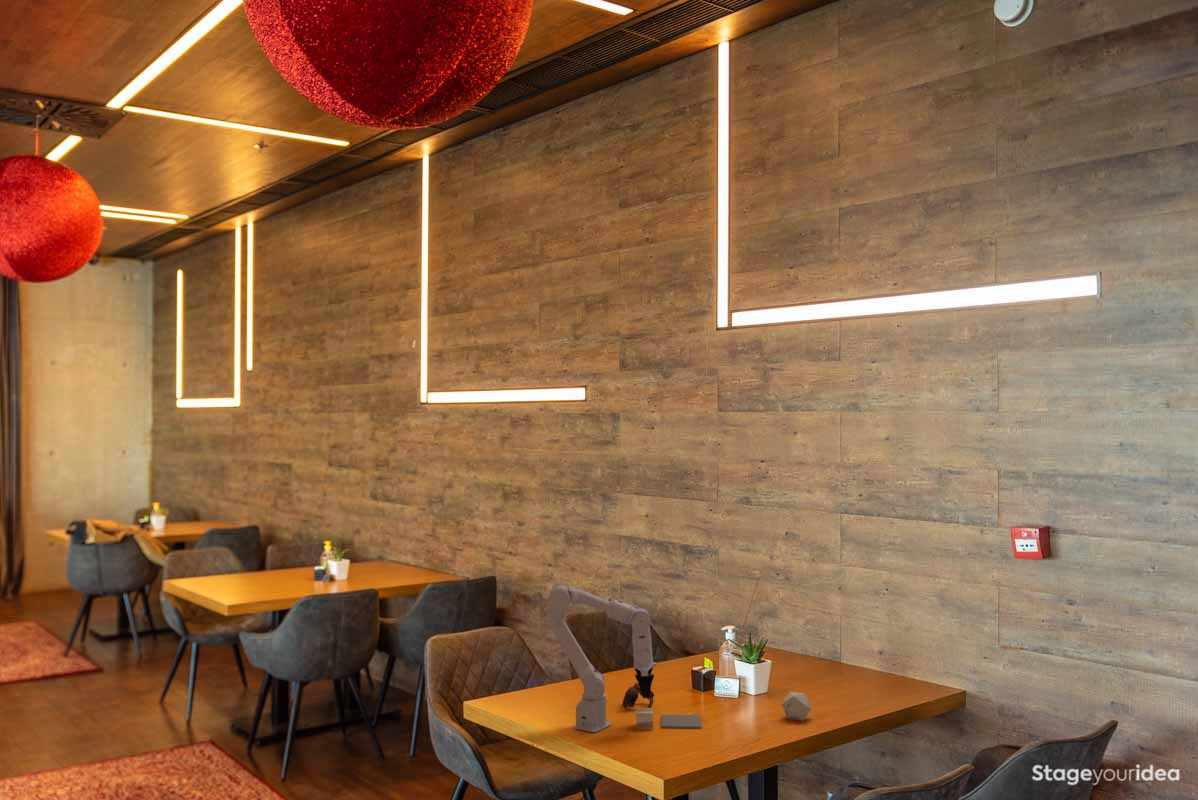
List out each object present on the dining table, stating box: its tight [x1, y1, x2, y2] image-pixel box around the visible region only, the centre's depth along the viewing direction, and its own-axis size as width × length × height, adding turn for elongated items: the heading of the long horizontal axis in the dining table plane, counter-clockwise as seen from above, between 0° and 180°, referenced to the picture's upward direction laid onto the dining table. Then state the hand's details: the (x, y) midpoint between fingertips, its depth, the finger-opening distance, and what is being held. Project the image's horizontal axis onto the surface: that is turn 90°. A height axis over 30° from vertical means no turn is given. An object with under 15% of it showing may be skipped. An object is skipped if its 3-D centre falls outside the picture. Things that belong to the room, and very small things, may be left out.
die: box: [781, 691, 813, 722], centre depth 307 cm, size 8×9×10 cm
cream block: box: [635, 707, 654, 731], centre depth 299 cm, size 5×5×5 cm
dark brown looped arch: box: [622, 682, 655, 709], centre depth 320 cm, size 12×10×8 cm
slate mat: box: [661, 714, 703, 730], centre depth 303 cm, size 12×12×1 cm
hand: (645, 694), depth 300 cm, fingers open, 7 cm apart
